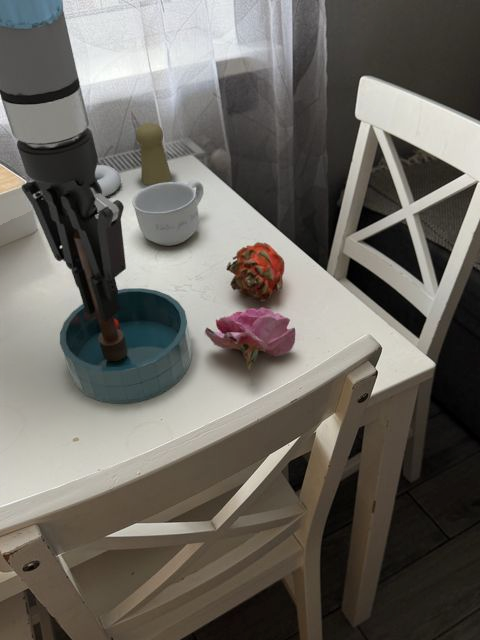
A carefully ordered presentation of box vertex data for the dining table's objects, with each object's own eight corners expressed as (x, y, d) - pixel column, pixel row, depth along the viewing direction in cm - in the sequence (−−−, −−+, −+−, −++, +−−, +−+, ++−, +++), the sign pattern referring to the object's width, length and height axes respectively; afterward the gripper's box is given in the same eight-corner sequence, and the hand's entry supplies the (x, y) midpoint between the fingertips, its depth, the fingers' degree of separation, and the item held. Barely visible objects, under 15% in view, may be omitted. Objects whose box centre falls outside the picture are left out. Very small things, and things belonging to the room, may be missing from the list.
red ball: (107, 331, 83) (110, 340, 85) (121, 322, 84) (123, 331, 86) (97, 320, 84) (100, 329, 86) (112, 311, 85) (114, 321, 87)
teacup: (161, 261, 100) (153, 219, 94) (128, 234, 106) (119, 194, 101) (227, 230, 106) (224, 189, 101) (192, 207, 112) (187, 167, 107)
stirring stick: (97, 356, 81) (60, 237, 68) (114, 341, 83) (81, 223, 70) (116, 364, 80) (82, 245, 67) (132, 349, 82) (102, 230, 69)
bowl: (45, 375, 81) (32, 342, 77) (125, 307, 91) (118, 275, 87) (139, 422, 75) (130, 389, 70) (214, 343, 85) (210, 311, 81)
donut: (105, 173, 124) (62, 189, 119) (102, 157, 121) (57, 173, 117) (132, 189, 118) (87, 207, 113) (129, 173, 116) (83, 190, 111)
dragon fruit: (258, 325, 90) (250, 286, 99) (303, 291, 87) (290, 255, 97) (221, 288, 85) (216, 252, 95) (267, 252, 83) (257, 218, 93)
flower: (228, 349, 88) (254, 288, 86) (281, 382, 84) (310, 319, 82) (181, 353, 79) (208, 284, 76) (238, 391, 74) (269, 320, 72)
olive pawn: (144, 188, 118) (134, 134, 111) (140, 174, 123) (130, 122, 115) (174, 183, 119) (166, 129, 112) (169, 170, 124) (161, 117, 116)
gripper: (134, 133, 60) (167, 313, 76) (29, 106, 66) (80, 279, 82) (81, 163, 55) (129, 348, 71) (-27, 132, 61) (40, 309, 77)
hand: (103, 311), depth 77 cm, fingers closed on stirring stick, 2 cm apart
